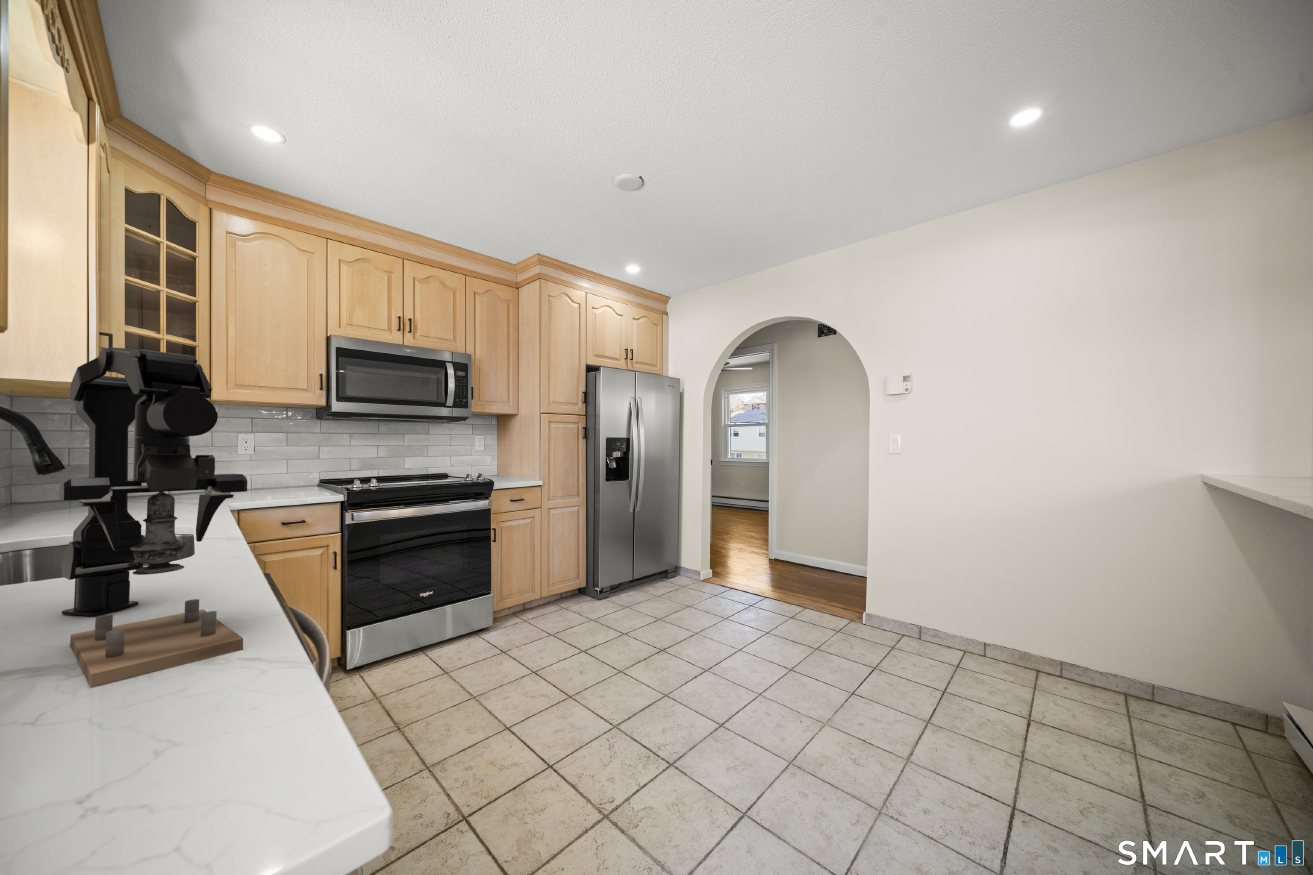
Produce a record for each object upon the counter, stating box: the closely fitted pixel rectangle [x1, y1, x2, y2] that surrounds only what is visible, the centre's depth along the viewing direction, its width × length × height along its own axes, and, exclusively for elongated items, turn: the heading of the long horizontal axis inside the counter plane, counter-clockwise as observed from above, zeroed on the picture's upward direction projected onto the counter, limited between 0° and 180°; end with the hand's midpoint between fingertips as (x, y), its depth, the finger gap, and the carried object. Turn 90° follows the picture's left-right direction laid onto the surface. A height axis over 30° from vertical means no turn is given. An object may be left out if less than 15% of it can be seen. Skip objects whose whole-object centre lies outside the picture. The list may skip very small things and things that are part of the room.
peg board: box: [69, 598, 244, 688], centre depth 69 cm, size 20×14×4 cm
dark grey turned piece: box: [130, 492, 188, 576], centre depth 72 cm, size 6×6×12 cm
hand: (159, 545), depth 72 cm, fingers closed on dark grey turned piece, 8 cm apart
